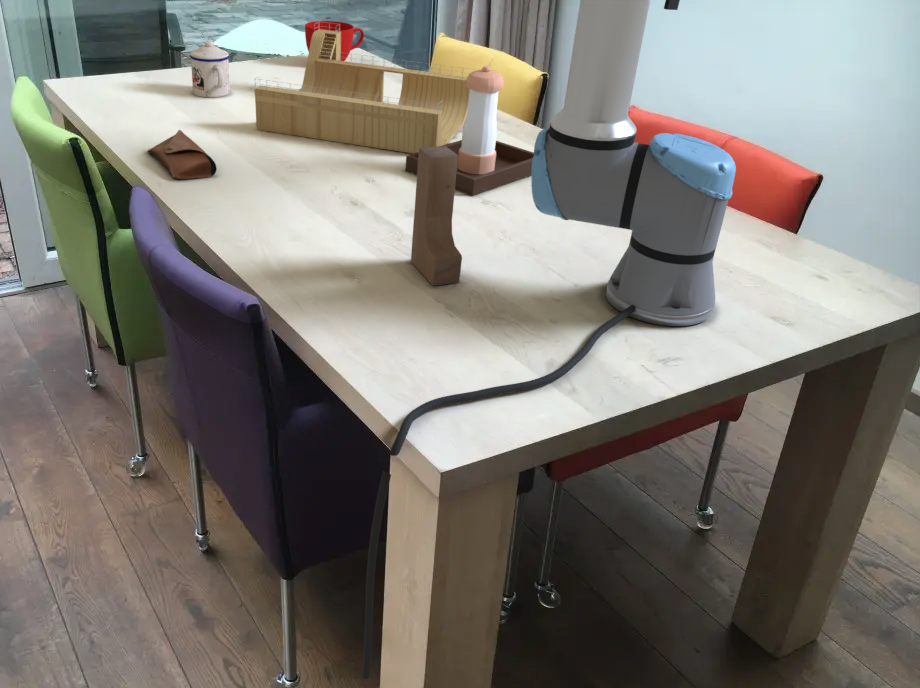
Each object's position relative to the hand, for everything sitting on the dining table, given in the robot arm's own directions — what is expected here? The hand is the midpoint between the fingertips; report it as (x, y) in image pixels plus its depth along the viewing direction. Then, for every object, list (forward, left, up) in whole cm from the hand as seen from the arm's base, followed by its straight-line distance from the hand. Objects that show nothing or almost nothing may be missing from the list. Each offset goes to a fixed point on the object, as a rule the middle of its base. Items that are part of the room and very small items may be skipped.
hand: (638, 2), depth 154 cm
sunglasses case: (-55, +59, -33) cm, 87 cm away
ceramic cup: (+25, +102, -33) cm, 110 cm away
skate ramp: (-5, +58, -33) cm, 67 cm away
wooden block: (-53, -4, -33) cm, 63 cm away
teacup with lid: (-20, +96, -33) cm, 103 cm away
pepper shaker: (-12, +22, -33) cm, 41 cm away
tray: (-12, +22, -33) cm, 41 cm away
